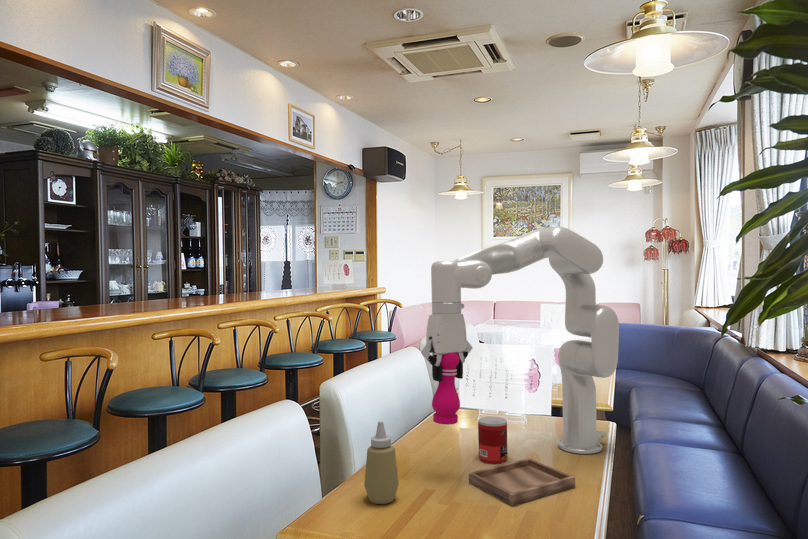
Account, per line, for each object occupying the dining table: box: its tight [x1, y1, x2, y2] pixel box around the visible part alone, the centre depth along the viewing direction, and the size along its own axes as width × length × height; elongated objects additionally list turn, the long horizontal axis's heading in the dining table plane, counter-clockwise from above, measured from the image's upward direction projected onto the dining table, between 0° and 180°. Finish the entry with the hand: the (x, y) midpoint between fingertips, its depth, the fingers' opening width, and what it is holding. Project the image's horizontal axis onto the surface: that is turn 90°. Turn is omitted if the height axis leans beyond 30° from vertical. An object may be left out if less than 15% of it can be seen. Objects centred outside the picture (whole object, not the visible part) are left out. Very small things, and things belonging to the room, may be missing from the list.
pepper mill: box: [431, 352, 461, 425], centre depth 141 cm, size 7×7×20 cm
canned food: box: [477, 416, 508, 465], centre depth 154 cm, size 8×8×11 cm
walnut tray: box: [468, 457, 576, 507], centre depth 135 cm, size 20×16×2 cm
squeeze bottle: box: [363, 421, 400, 505], centre depth 128 cm, size 8×8×18 cm
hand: (447, 378), depth 141 cm, fingers closed on pepper mill, 5 cm apart
